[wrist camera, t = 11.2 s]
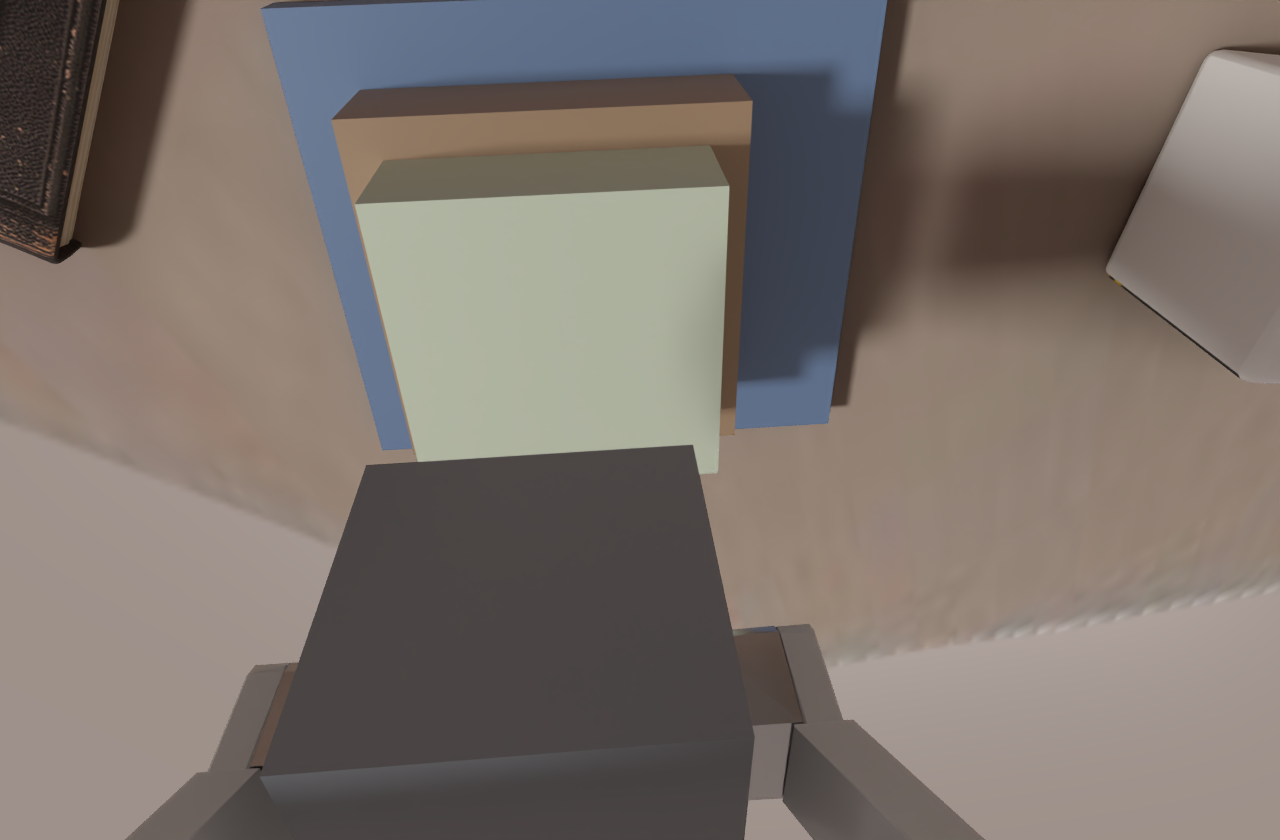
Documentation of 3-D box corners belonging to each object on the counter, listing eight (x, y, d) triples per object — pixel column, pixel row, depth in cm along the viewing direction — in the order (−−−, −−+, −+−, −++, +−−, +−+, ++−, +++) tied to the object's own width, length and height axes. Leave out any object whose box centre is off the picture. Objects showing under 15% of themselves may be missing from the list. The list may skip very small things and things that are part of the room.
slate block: (692, 444, 12) (754, 736, 8) (688, 651, 15) (733, 944, 11) (366, 465, 12) (259, 776, 8) (426, 671, 15) (371, 977, 11)
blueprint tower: (877, -21, 21) (989, 22, 15) (820, 407, 29) (880, 539, 23) (273, 3, 20) (155, 56, 15) (388, 433, 28) (341, 575, 23)
